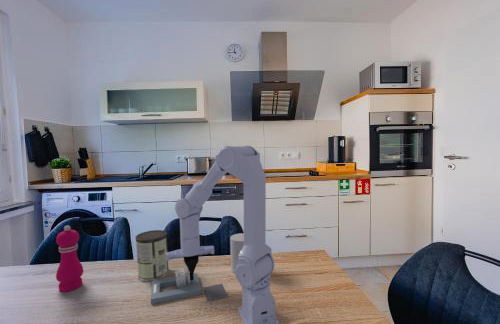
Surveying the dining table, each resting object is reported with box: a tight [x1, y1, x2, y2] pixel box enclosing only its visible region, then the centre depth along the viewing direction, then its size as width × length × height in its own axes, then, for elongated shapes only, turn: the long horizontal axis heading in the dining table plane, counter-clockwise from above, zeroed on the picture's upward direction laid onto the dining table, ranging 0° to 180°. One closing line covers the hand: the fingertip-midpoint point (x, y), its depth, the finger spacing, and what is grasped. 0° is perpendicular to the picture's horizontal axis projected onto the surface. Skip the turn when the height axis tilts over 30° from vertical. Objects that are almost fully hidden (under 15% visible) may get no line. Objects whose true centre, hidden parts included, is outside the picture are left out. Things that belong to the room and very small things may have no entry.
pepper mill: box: [55, 225, 84, 293], centre depth 83 cm, size 7×7×20 cm
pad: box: [203, 283, 229, 303], centre depth 77 cm, size 8×6×1 cm
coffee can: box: [134, 229, 170, 282], centre depth 90 cm, size 10×10×14 cm
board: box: [150, 272, 202, 305], centre depth 79 cm, size 11×14×2 cm
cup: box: [229, 232, 244, 275], centre depth 91 cm, size 8×8×12 cm
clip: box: [174, 267, 190, 289], centre depth 80 cm, size 4×4×4 cm
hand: (191, 278), depth 81 cm, fingers closed
